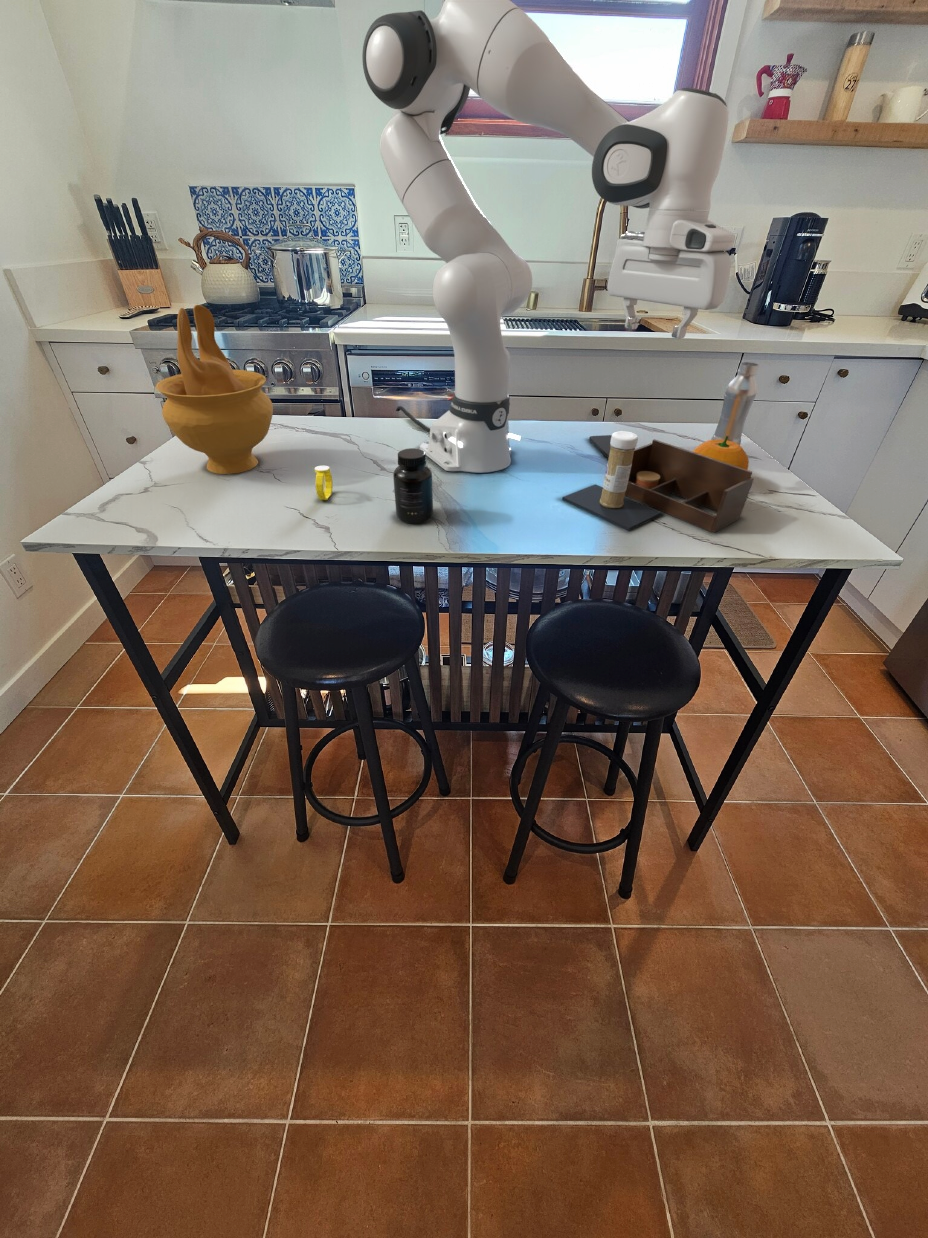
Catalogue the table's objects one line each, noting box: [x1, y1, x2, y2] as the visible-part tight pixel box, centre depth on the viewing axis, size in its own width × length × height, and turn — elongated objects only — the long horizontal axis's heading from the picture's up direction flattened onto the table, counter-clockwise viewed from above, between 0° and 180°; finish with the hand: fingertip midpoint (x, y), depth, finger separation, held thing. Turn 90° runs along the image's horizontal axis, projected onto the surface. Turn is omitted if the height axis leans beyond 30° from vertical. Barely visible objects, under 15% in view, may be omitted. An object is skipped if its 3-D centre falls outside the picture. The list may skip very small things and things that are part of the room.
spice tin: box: [635, 471, 660, 489], centre depth 110 cm, size 5×5×4 cm
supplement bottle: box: [392, 447, 434, 525], centre depth 97 cm, size 7×7×12 cm
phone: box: [588, 434, 612, 459], centre depth 129 cm, size 7×1×15 cm
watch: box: [314, 465, 333, 501], centre depth 105 cm, size 6×3×6 cm, turn 175°
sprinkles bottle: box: [600, 430, 639, 508], centre depth 101 cm, size 5×5×14 cm
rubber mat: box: [561, 483, 663, 532], centre depth 105 cm, size 16×10×1 cm, turn 40°
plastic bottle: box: [710, 361, 760, 446], centre depth 121 cm, size 6×7×20 cm
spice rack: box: [624, 439, 755, 534], centre depth 104 cm, size 22×9×9 cm, turn 40°
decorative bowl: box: [155, 304, 274, 475], centre depth 110 cm, size 21×21×30 cm
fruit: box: [692, 436, 750, 470], centre depth 112 cm, size 12×12×10 cm
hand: (653, 332), depth 93 cm, fingers open, 8 cm apart
